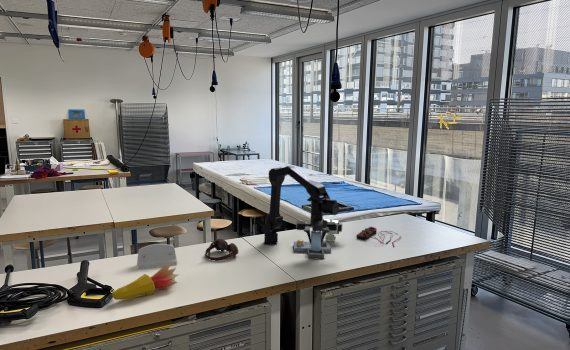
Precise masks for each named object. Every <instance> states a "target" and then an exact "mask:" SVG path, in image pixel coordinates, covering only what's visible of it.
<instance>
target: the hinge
mask: <svg viewBox="0 0 570 350" xmlns="http://www.w3.org/2000/svg"><path fill="white" fill-rule="evenodd" d="M173 261H174V262H173ZM171 262H173V263H172V265H171V266H170V267H173V266H177V265H178V263H177V262H178V259H177V253H176V248H175V246H174V245H171V244H167V243H166V244H165V243H154V244H149V245H146V246H143V247H141V248H139V250H138V252H137V261H136V266H137V270H145V269H155V268H162V267H163V266H164V265H166V264H169V263H171Z"/></svg>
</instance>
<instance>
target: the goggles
mask: <svg viewBox="0 0 570 350" xmlns="http://www.w3.org/2000/svg"><path fill="white" fill-rule="evenodd" d="M213 249H216V251H217V250H221V251H222V252H221V253H223V252H224V251H226V252H227V251H228V252H227V253H228V254H225V255H220V256H211V251H212V250H213ZM204 253H205V254H204V256H205V258H206V259H207V258H208V260H209V259H210V260H209V261H212V260H215V261H214V262H220V261H224V260H228V259H230V258H234V257H236V256H237V255H238V254H239V249H238V247H237V245H236V243H233V242H231V243H229V244H228V242H227V241H226V240H225V239H223V238H216V239H214V240H213V241H212V242H211V243H210V244H209V246H208V247H207V248H206V250H205V252H204Z"/></svg>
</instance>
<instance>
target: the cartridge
mask: <svg viewBox="0 0 570 350" xmlns="http://www.w3.org/2000/svg"><path fill="white" fill-rule="evenodd" d="M321 234H322V231H313V230H312V229H311V230H310V236H311V250H312V251H320V250H321Z"/></svg>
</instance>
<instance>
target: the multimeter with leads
mask: <svg viewBox="0 0 570 350" xmlns="http://www.w3.org/2000/svg"><path fill="white" fill-rule="evenodd" d="M377 231H378V230H377V227H374V226H368V227H366V228H365V227H364V229H362V230H361V231H360V232H358V233H357V234H356V239H357V240H360V241H367V240H369V239H370V238H371V239H373V240H374V239H375V240H377V241H378V242H379V243H380V244H382V245H383V244H384V245H388V244H389V243H390V242H391V245H392V246H393V248H395V247H396V246H395V244H394V243H395V242H396V241H398V240H399V239H400V238H401V236H399V238H397V239H395V240H394V241H392V235H393V233H394V234H396V235H398V233H396V232H394V231H391V230H389V231H387V230H381V231H379V232H378V233H377ZM382 232H384V233H387V234H391V235H390V239H389V240H388V241H387V242H385V243H384V241H385V237H386V235H385V234H384V233H382ZM376 234H377V235H378V237H379V238H380V240H379V239H378V238H377V237H376V236H375V235H376ZM380 234H382V235H383V239H382V237H381V236H380Z"/></svg>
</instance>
